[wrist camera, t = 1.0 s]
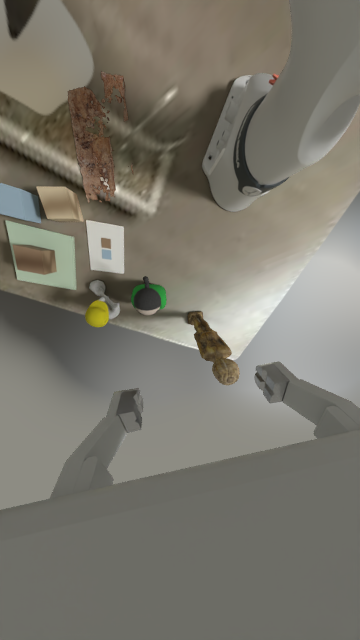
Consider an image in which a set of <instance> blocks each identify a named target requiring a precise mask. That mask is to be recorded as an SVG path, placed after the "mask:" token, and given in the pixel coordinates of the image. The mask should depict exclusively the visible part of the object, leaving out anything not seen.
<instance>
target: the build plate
mask: <svg viewBox="0 0 360 640" xmlns="http://www.w3.org/2000/svg"><path fill="white" fill-rule="evenodd" d="M5 221H6V220H5ZM6 226H7V231H8V236H9V241H10V246H11V251H12V256H13V261H14V265H15V270H16V275H17V280H22V281H28V282H33V283H39V284H44V285H50V286H55V287H61V288H67V289H72V290H76V269H75V247H74V237H72V236H68V235H64V234H60V233H56V232H52V231H48V230H44V229H40V228H36V227H32V226H28V225H23V224H19V223H15V222H11V221H6ZM12 244H13V245H33V246H37V247H42V248H46V249H51V250H55V259H56V269H57V272H54V273H50V274H46V275H42V274H37V273H32V272H27V271H21V270H17V265H16V260H15V255H14V250H13V245H12Z"/></svg>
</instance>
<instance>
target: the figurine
mask: <svg viewBox="0 0 360 640" xmlns="http://www.w3.org/2000/svg"><path fill="white" fill-rule="evenodd" d="M105 288H106V287H105V285H104V283H103V282H102V281H99V280H95V281H92V282H91V283H90V287H89V289H91V290H92V291H93V292H94V293H95V294H96V295H97V296H102V297H101V298H100V299H98V300H96V301H94V302H93V303H92V304H91V305H90V306H89V308H88V309H87V311H86V314H85V317H86V321H87V322H88V323H89V324H90V325H91V326H94V327H102V326H104V325H105V324H106V323H107V322H108V320H109V319H113V318H115V317H116V316H118V314H119V313H120V308H119V303H113V302H112V301H111V300H110V299H109V296H106V295H105V294H104V293H105Z"/></svg>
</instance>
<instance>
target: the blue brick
mask: <svg viewBox="0 0 360 640" xmlns="http://www.w3.org/2000/svg"><path fill="white" fill-rule="evenodd" d="M0 214H3V215H7V216H11V217H15V218H19V219H23V220H27V221H32V222H37V223H41V218H40V209H39V201H38V196H36V195H34V194H31V193H29V192H27V191H24V190H22V189H19V188H15V187H12V186H9V185H5V184H2V183H0Z"/></svg>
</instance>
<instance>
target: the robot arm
mask: <svg viewBox="0 0 360 640" xmlns="http://www.w3.org/2000/svg"><path fill="white" fill-rule="evenodd" d="M289 4H290V12H291V21H292V40H291V49H290V54H289V57H288V60H287V63H286V65H285V67H284V68H283V70H282V72H281V73H280V75H279V76H278V75H275V74H273V75H271V74H267V73H258V74H255V75H253V76H252V75H246V76H241V77H239V78H237V79H236V80H235V81H234V83H233V85H232V87H231V89H230V92H229V94H228V97H227V100H226V102H225V105H224V107H223V110H222V112H221V115H220V118H219V120H218V123H217V125H216V128H215V131H214V133H213V136H212V138H211V141H210V144H209V146H208V149H207V151H206V154H205V157H204V159H203V162H202V168H203V171H204V173H205V174H206V176H207V178H208V180H209V183H210V188H211V192H212V195H213V197H214V199H215V201H216V202H217V203H218V205H219V206H220V207H222V208H223V209H225V210H227V211H232V212H236V211H240V210H243V209H245V208H246V207H248V206H249V205H250V204H251V203H252V202H253V201H255V200H256V199H257V198H258V197H261V196H263V195H265V194H266V193H268V192H269V191H270V190H271V189H273V188H275V187H277V186H279V185H281V184H282V183H283V182H285V181H286V180H287V179H288V178H289V177H290V176H292V175H293V174H295V173H297V172H299V171H301V170H303V169H305V168H306V167H308V166H310V165H312V164H314V163H316V162H317V161H319V160H320V159H321V158H323V157H324V156H325V155H326V154H327V153H328V152H329V151H330V150H331V149H332V148H333V147H334V145H335V144H336V143H337V142H338V140H339V139H340V138H341V137H342V135H343V134H344V133H345V131H346V130H347V128H348V127H349V125H350V123H351V121H352V120H353V118H354V116H355V114H356V111H357V109H358V107H359V104H360V0H289ZM246 83H247V84H246ZM208 157H211V160H209V158H208ZM256 371H257V373H256V374H255V382H256V384H257V386H258V387H259V389H261V390H263V394H264V396H265V397H266V399H267V400H268V401H269V403H275V402H281V401H283V403H285V404H286V405H288V406H289V407H291V408H292V409H294V410H295V411H297V412H298V413H299V414H301V415H302V416H304V417H305V418H307V419H308V420H310V421H311V422H313V423H314V424H315V425H317V427H316V428H315V430H314V435H315V436H316V437H317V439H315V440H310V441H306V442H301V443H297V444H292V445H288V446H283V447H278V448H274V449H270V450H265V451H261V452H256V453H252V454H247V455H243V456H238V457H234V458H230V459H225V460H221V461H216V462H212V463H207V464H203V465H198V466H194V467H189V468H185V469H180V470H176V471H172V472H167V473H163V474H158V475H154V476H149V477H145V478H140V479H136V480H131V481H127V482H122V483H118V484H114V485H112V484H113V477H112V475H111V474H110V473H109V472H108V471H107V468H108V466H109V464H110V462H111V461H112V459H113V457H114V456H115V454H116V452H117V450H118V449H119V447H120V445H121V444H122V442H123V440H124V439H125V437H126V435H127V433H129V432H133V431H137V430H141V425H142V417H141V413H142V412H143V399H142V396H141V395H140V390H139V388H135V389H129V390H123V391H117V392H114V394H113V397H112V400H111V403H110V406H109V410H108V413H107V416H106V418H103V419H102V420H101V421H100V423H99V424H98V425H97V426H96V427H95V428H94V429H93V431H92V432H91V433H90V434H89V435H88V436H87V438H86V439H85V440H84V441H83V442H82V443H81V445H80V446H79V447H78V448H77V449H76V450H75V451H74V452H73V454H72V455H71V456H70V457H69V458H68V459H67V461H66V462H65V464H64V467H63V469H62V471H61V474H60V476H59V478H58V481H57V483H56V485H55V488H54V490H53V492H52V494H51V497H50V499H47V500H42V501H38V502H33V503H29V504H25V505H20V506H16V507H11V508H7V509H3V510H0V640H360V408H358V407H357V406H356V405H355V404H353V403H352V402H351V401H349V400H347V399H344V398H342V397H339V396H337V395H335V394H333V393H331V392H328V391H326V390H324V389H322V388H319V387H317V386H315V385H313V384H310V383H308V382H306V381H304V380H301V379H300V380H299V379H298V378H296V377H295V376H294V375H293V374H292V373H291V372H290V371H289V370H288V369H287V368H286V367H285V366H284V365H283V364H282V363H280V362H274V363H268V364H263V365H258V366H257V367H256Z"/></svg>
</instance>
